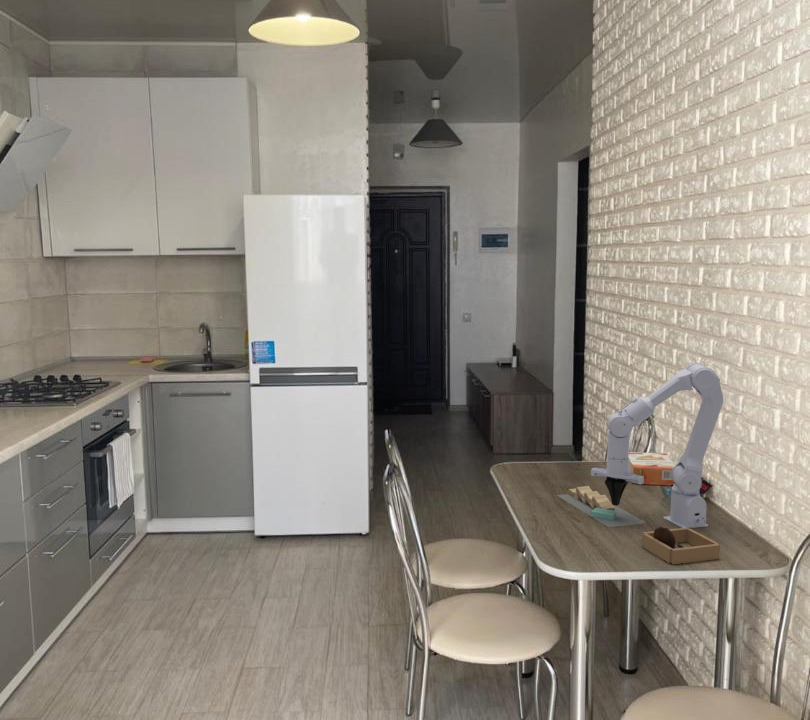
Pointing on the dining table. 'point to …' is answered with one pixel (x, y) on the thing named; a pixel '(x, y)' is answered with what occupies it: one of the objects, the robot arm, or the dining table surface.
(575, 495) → the tile
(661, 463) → the cracker box
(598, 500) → the tile
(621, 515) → the board and tray
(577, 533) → the dining table surface
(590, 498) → the tan wooden block
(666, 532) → the dark brown rounded piece
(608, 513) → the tile
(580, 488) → the tile
